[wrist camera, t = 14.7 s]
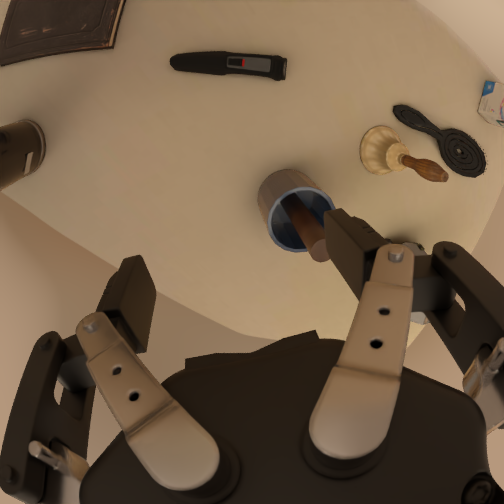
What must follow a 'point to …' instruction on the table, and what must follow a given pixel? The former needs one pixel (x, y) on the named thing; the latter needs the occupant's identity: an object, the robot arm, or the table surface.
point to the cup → (276, 216)
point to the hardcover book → (57, 27)
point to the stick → (306, 227)
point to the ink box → (493, 103)
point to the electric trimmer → (231, 64)
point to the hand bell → (394, 156)
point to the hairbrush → (447, 143)
